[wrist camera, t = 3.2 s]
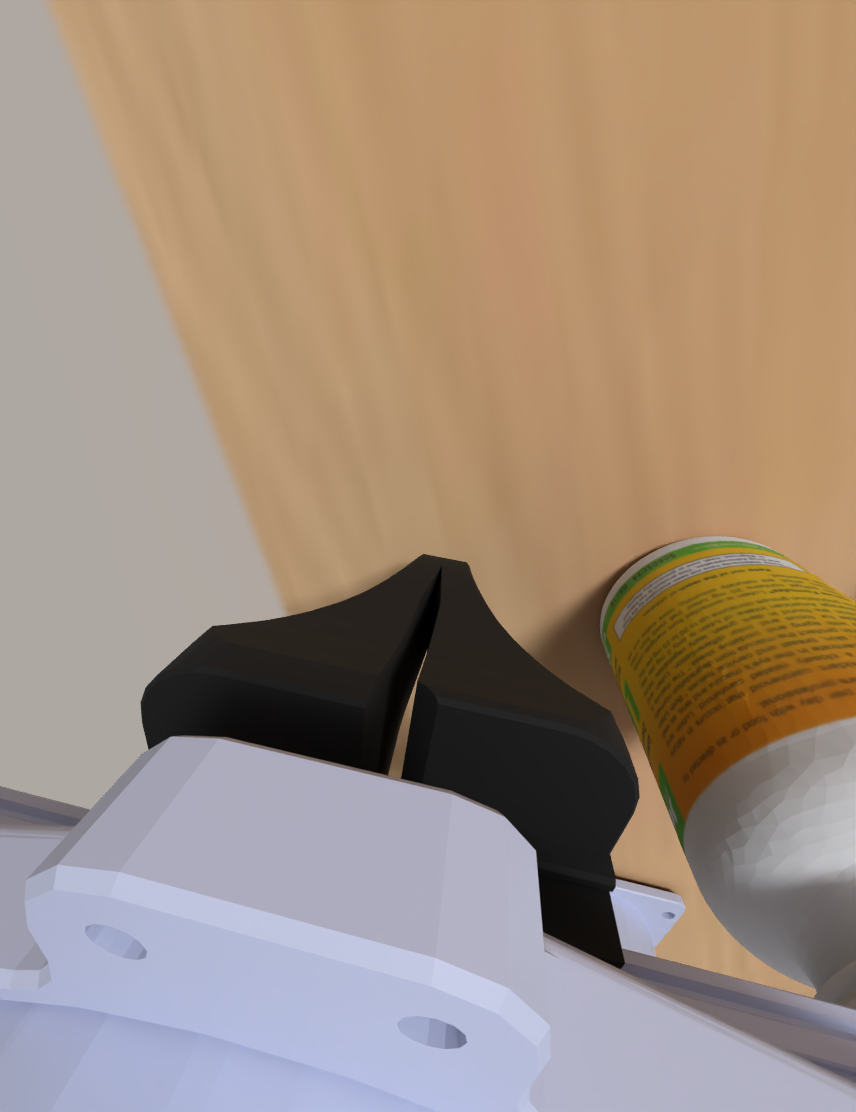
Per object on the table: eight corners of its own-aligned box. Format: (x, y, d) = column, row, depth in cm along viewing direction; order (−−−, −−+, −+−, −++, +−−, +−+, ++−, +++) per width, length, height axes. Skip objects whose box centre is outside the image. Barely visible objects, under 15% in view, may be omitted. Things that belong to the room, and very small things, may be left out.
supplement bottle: (558, 617, 13) (697, 1157, 4) (713, 491, 10) (1798, 1090, 2) (675, 711, 14) (1003, 1331, 5) (841, 612, 11) (2022, 1438, 3)
